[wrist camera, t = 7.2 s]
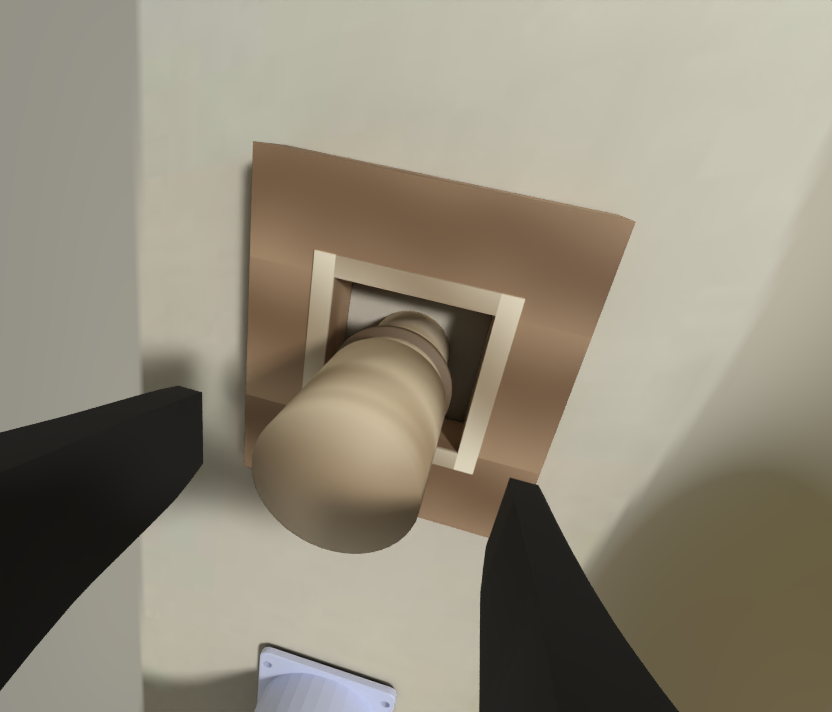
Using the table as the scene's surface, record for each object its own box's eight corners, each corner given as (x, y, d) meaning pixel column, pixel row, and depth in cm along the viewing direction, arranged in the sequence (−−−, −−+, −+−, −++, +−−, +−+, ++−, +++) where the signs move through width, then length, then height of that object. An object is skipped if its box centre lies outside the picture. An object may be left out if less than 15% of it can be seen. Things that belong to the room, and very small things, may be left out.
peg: (446, 407, 17) (401, 576, 10) (352, 378, 18) (243, 522, 10) (474, 316, 16) (444, 440, 9) (371, 285, 16) (256, 381, 9)
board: (512, 508, 19) (512, 546, 17) (268, 439, 20) (242, 467, 18) (619, 215, 14) (636, 222, 12) (284, 145, 15) (251, 141, 13)
